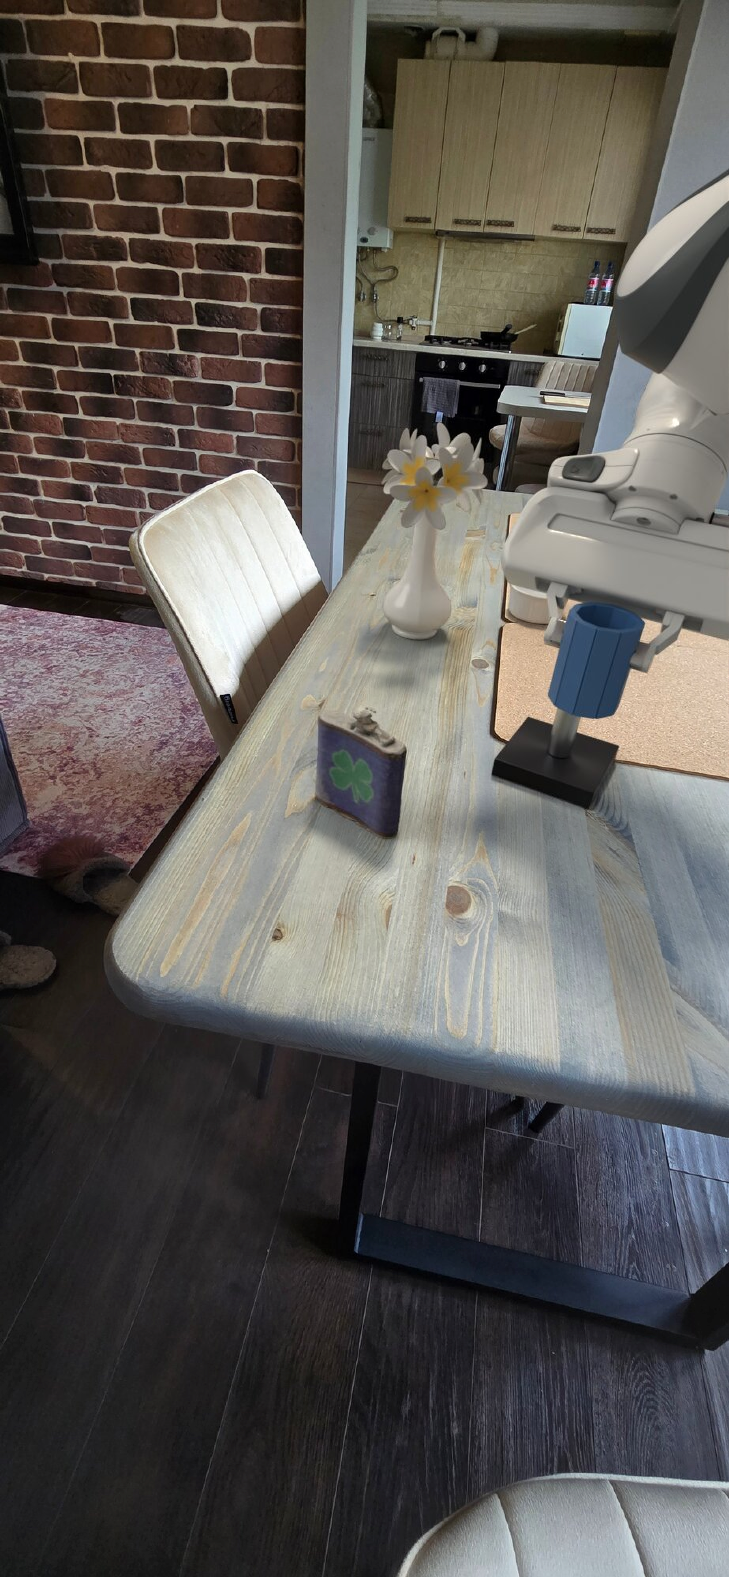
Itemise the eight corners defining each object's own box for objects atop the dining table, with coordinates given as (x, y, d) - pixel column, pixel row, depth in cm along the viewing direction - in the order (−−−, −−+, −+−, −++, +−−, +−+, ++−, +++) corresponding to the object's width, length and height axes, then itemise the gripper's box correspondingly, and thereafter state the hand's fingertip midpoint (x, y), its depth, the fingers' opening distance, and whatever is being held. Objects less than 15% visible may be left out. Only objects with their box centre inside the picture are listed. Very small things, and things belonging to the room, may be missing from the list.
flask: (309, 798, 68) (312, 696, 62) (330, 785, 70) (336, 685, 64) (386, 843, 64) (399, 739, 58) (407, 828, 66) (421, 726, 60)
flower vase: (369, 660, 92) (386, 445, 78) (369, 603, 107) (384, 413, 92) (472, 667, 93) (509, 454, 78) (458, 609, 108) (487, 421, 93)
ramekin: (561, 605, 112) (568, 577, 109) (568, 629, 105) (576, 600, 102) (503, 599, 112) (508, 571, 109) (506, 622, 105) (511, 593, 102)
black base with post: (614, 761, 77) (636, 694, 72) (588, 809, 70) (611, 738, 65) (524, 731, 81) (539, 666, 76) (490, 775, 74) (505, 705, 69)
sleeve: (624, 697, 62) (651, 614, 58) (607, 726, 58) (634, 639, 54) (560, 678, 64) (582, 596, 60) (539, 705, 60) (560, 619, 56)
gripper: (785, 552, 59) (724, 708, 58) (541, 500, 66) (482, 637, 65) (806, 506, 53) (738, 679, 52) (535, 455, 60) (470, 605, 59)
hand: (593, 655), depth 58 cm, fingers closed on sleeve, 5 cm apart
